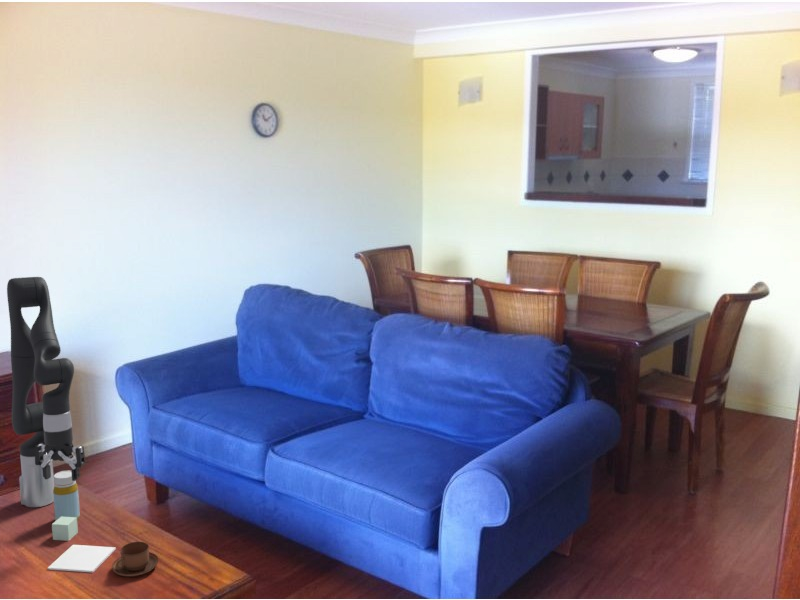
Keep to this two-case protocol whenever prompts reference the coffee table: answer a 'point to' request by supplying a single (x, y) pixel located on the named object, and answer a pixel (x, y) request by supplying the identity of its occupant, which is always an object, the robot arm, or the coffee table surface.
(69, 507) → the bottle
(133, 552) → the cup and saucer
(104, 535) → the coffee table surface
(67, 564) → the mat
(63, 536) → the sage cube
